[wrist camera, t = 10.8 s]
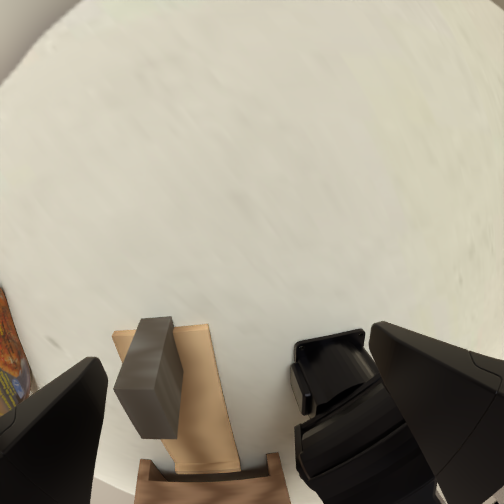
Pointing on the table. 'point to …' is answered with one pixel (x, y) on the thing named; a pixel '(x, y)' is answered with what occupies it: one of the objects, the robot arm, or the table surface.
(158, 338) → the scraper
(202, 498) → the wooden bridge block
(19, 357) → the tin
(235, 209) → the table surface
